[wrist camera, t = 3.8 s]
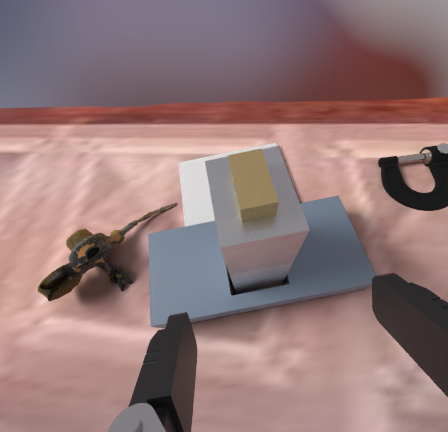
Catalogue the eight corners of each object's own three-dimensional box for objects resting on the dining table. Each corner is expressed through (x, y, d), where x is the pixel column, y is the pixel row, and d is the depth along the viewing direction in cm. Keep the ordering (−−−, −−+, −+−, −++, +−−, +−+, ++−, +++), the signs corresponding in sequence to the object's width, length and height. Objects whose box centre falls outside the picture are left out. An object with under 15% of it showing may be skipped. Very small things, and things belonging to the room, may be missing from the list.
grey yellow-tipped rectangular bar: (237, 295, 22) (215, 237, 9) (227, 245, 24) (200, 145, 12) (280, 287, 22) (315, 217, 9) (266, 237, 24) (280, 128, 12)
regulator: (160, 190, 30) (33, 269, 24) (160, 175, 26) (10, 262, 20) (198, 237, 29) (76, 330, 23) (203, 228, 25) (60, 336, 19)
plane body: (163, 328, 21) (150, 326, 19) (159, 245, 25) (148, 234, 22) (363, 289, 21) (379, 281, 18) (329, 211, 25) (338, 195, 22)
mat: (186, 230, 26) (185, 228, 25) (179, 165, 30) (178, 162, 29) (297, 208, 25) (298, 205, 25) (274, 146, 30) (275, 142, 29)
